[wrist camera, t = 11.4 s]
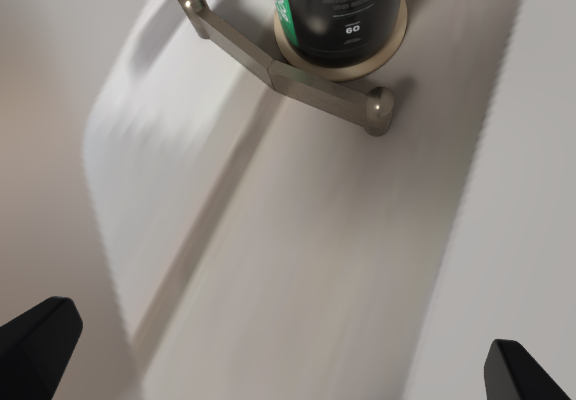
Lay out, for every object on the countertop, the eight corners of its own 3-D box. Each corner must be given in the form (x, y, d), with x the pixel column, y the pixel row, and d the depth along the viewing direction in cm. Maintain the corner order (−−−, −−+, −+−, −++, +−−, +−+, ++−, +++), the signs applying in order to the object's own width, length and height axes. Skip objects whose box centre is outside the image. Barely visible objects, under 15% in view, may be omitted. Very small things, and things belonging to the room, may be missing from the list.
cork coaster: (359, 105, 24) (359, 102, 23) (250, 44, 26) (248, 40, 25) (432, -2, 25) (433, -6, 24) (321, -53, 27) (320, -58, 26)
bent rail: (374, 149, 23) (378, 127, 20) (187, 40, 27) (166, 7, 23) (394, 120, 23) (400, 95, 20) (205, 16, 27) (186, -20, 24)
